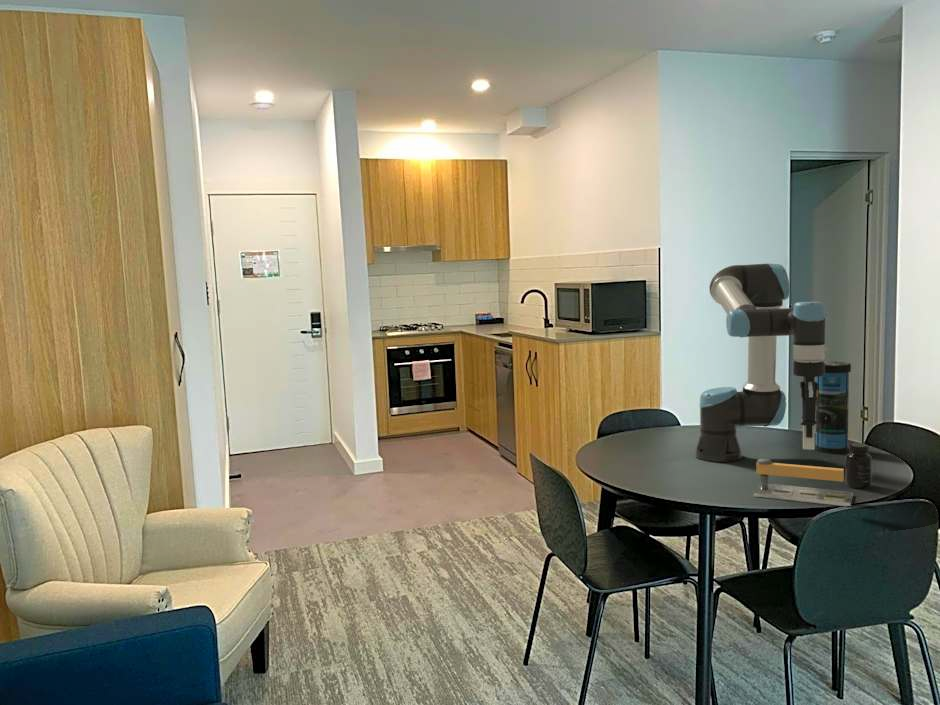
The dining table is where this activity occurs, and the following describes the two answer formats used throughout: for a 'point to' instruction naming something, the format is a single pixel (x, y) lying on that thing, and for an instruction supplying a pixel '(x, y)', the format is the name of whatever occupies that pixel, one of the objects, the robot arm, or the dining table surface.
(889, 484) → the dining table surface
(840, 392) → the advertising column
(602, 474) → the dining table surface
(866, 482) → the supplement bottle
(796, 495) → the tray
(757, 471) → the swing arm
